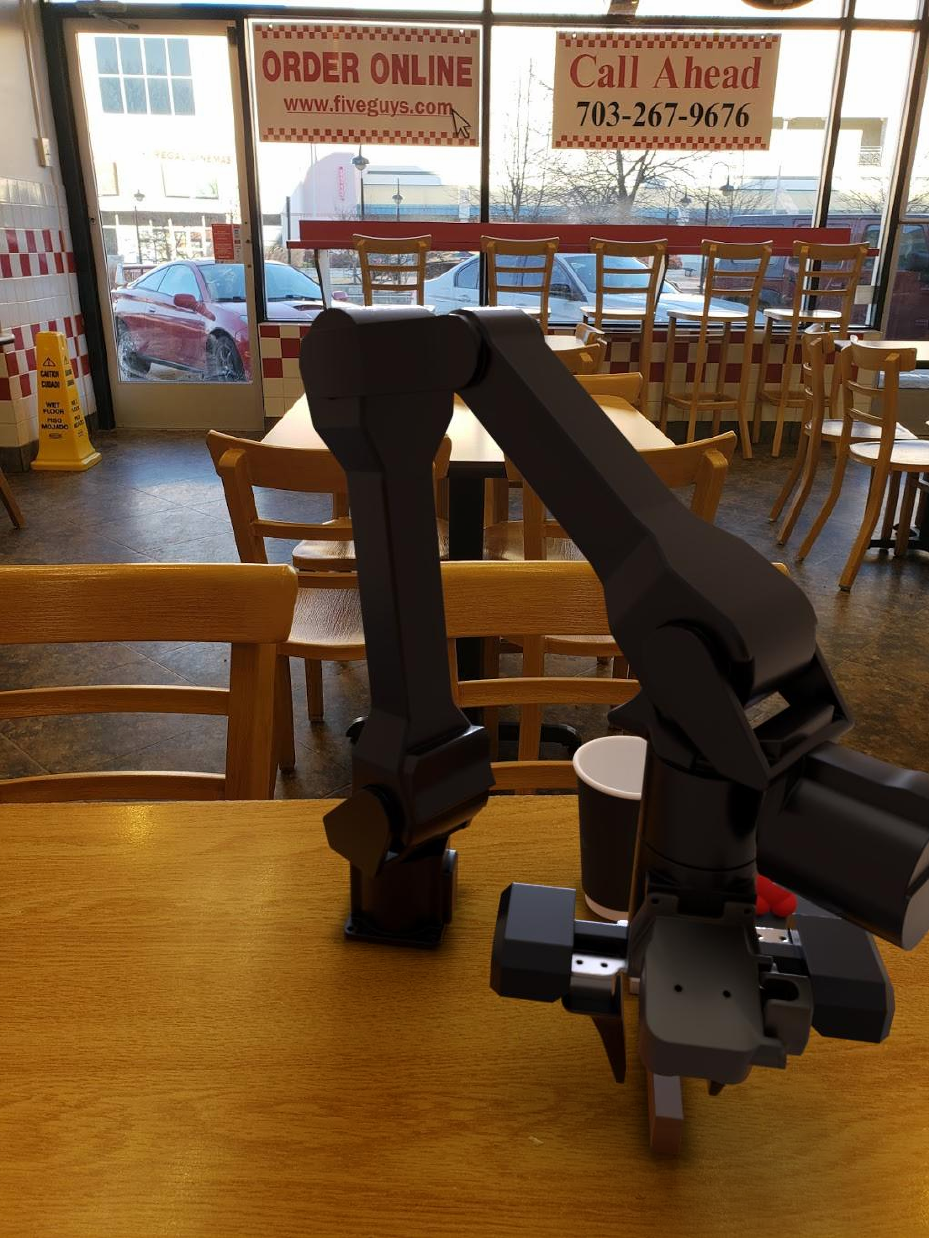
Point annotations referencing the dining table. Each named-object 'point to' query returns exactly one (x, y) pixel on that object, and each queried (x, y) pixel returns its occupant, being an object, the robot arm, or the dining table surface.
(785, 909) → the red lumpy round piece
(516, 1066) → the dining table surface
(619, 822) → the dixie cup
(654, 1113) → the fork
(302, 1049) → the dining table surface
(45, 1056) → the dining table surface
